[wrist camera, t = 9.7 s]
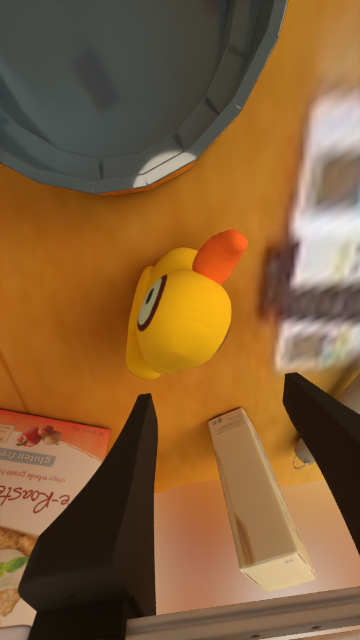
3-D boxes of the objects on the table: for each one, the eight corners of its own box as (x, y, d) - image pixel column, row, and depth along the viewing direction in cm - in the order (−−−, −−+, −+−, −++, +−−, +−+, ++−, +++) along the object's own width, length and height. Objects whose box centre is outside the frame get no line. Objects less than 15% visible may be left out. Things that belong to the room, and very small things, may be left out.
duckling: (175, 199, 17) (189, 198, 8) (237, 236, 18) (308, 272, 9) (114, 327, 21) (79, 420, 12) (169, 349, 22) (173, 448, 14)
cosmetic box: (206, 419, 27) (235, 569, 16) (241, 404, 26) (298, 550, 15) (227, 451, 30) (265, 597, 19) (260, 438, 29) (320, 582, 18)
